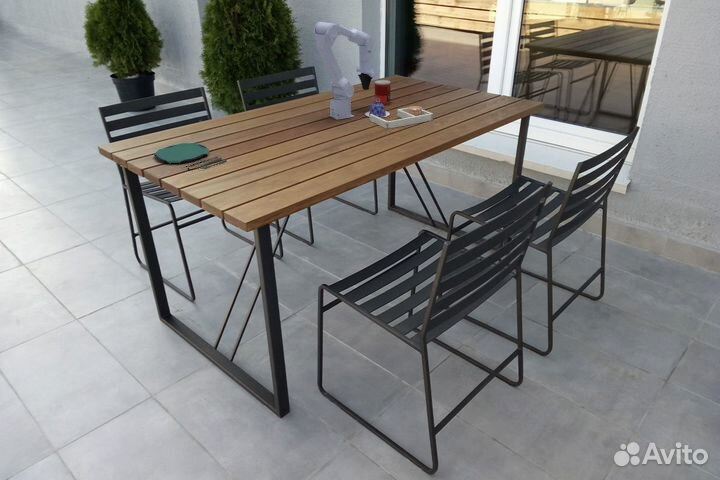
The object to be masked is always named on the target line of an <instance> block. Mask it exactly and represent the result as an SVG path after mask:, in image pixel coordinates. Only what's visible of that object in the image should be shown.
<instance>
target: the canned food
mask: <svg viewBox="0 0 720 480" xmlns="http://www.w3.org/2000/svg"><path fill="white" fill-rule="evenodd" d="M374 102H375V103H374V104H376V103H379V104H383V105H384V106H387V105H388V106H389V105H390V104H391V81H390V80H388V79H387V80H385V79H382V80H381V79H380V80H379V79H378V80H375V81H374Z"/></svg>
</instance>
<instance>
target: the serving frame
mask: <svg viewBox="0 0 720 480" xmlns="http://www.w3.org/2000/svg"><path fill="white" fill-rule="evenodd" d="M408 112H409V110H408V107H404V108H400V109H399V108H398V109H396V116H397V117H399V119H393V120H389V121H388V120H385V119H383V118H382V117H381V118H379V117H377V116H375V115H373V114H370V117H369V121H370V122H372V123H374V124H375V125H378V126H380V127H381V128H384V129H386V130H390V129H394V128H399V127H403V126H404V127H405V126H409V125H415V124H419V123H421V124H422V123H425V122H431V121H433V120H434V113H432V112H429V111H427V110H425V109H422V110H421V115H420V116H414V115H412V114H409V113H408Z"/></svg>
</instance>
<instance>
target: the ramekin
mask: <svg viewBox="0 0 720 480" xmlns="http://www.w3.org/2000/svg"><path fill="white" fill-rule="evenodd" d="M407 108H408V110H409V112H408V113H409V114H412V115H414V116H420V115H421V110H423V107H422V106H420V105H409V106H408V107H407Z"/></svg>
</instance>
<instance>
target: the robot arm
mask: <svg viewBox="0 0 720 480" xmlns="http://www.w3.org/2000/svg"><path fill="white" fill-rule="evenodd" d="M312 33H313V35H314V37H315V40H316V47H317V48H316V49H317V51H318V53H319V55H320V57H321V59H322V63H323V64H324V66H325V68H326V70H327V72H328V75H329V77H330V79H331V81H330V84H329V86H330V88H331V93H332V95H333V97H334V98H333V99H331V100H329V109H330V110H329V111H330V112H329V114H330V115H329V117H330V118H332V119H335V120H337V121H338V120H343V119H349V118H355V115H354V114H352V105H351V102H352V100H351V99H352V97H353V96H354V93H355V87H354V86H353V85H352V84H351V83H350V81H349V80H348V79H347V78H346V77H344V74H343V72H342V70H341V68H340V65H339V63H338V60H337V59H336V56H335V54H334V51H333V49H332V47H333V46H334V44H335V42H336V40H337V38H338V36H343V37H346V38H347V40H348V41H349V42H351V43H354V44H356V45H357V46H358V50H359V59H358V60H359V67H356V73H358V75H357V76H358V79H359V80H360V83H361V86H362V90H364V91H368V90H369V89H370V85H371V82H372V79H373V77H376V72H375V71H374V68H372V66H373V65H372V51H373V46H374V44H375V39H374V37H373V35H371V34H370V33H366V32H365V31H364V30H363V31H361V30H359V28H357V27H354V28H351V29H350V28H347V27H345V26H343V25H341V24H339V23H335V22H324V21H318V22H316V24H315V25H314V28H313V32H312Z"/></svg>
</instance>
